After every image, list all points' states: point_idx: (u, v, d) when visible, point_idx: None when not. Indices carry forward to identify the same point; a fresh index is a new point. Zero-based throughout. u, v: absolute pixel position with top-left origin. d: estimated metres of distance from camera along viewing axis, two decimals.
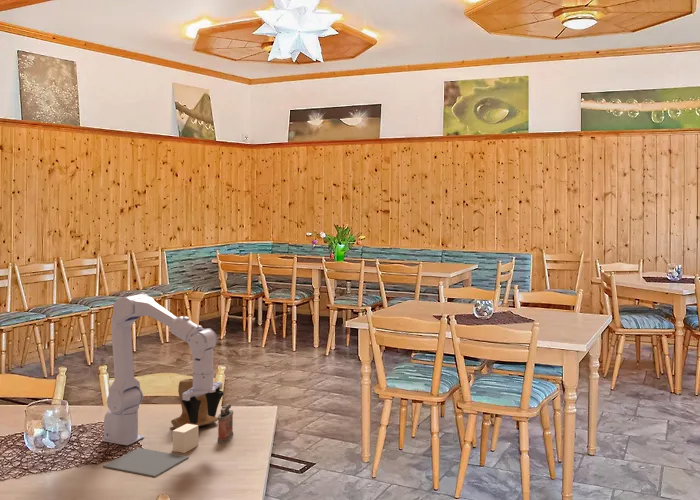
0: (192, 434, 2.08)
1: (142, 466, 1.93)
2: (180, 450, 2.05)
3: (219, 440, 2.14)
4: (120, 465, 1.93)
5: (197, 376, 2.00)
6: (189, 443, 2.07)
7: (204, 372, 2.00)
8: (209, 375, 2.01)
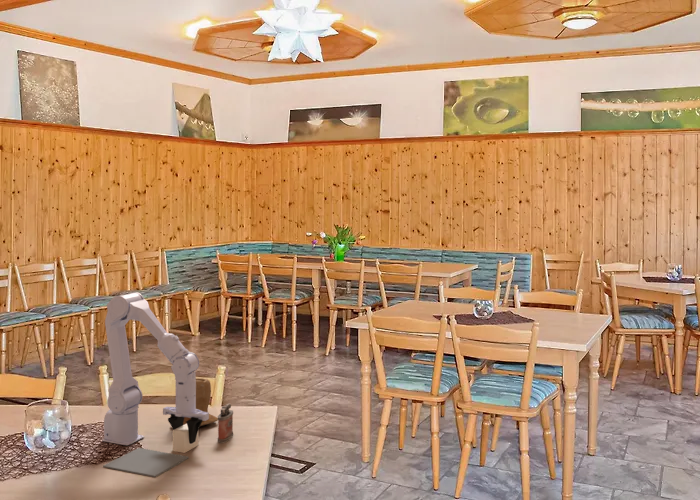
0: None
1: (142, 466, 1.93)
2: (180, 450, 2.05)
3: (219, 440, 2.14)
4: (120, 465, 1.93)
5: None
6: (189, 443, 2.07)
7: (187, 395, 2.05)
8: (178, 399, 2.05)
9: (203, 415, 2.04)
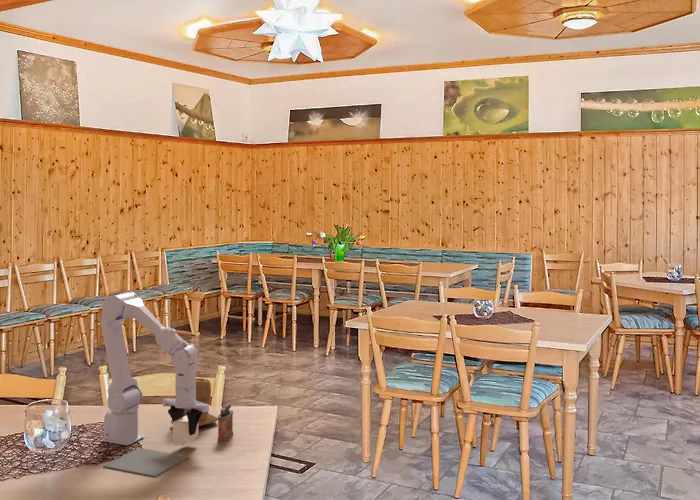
0: None
1: (142, 466, 1.93)
2: (180, 441, 2.05)
3: (219, 440, 2.14)
4: (120, 465, 1.93)
5: None
6: None
7: (187, 387, 2.04)
8: (178, 390, 2.05)
9: (203, 406, 2.04)
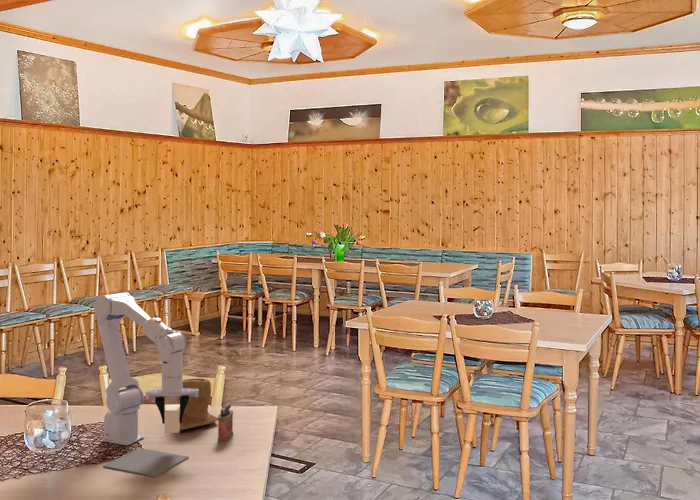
0: None
1: (142, 466, 1.93)
2: (174, 430, 2.00)
3: (219, 440, 2.14)
4: (120, 465, 1.93)
5: None
6: (179, 422, 2.03)
7: (171, 375, 2.00)
8: (170, 379, 2.00)
9: (196, 391, 2.03)
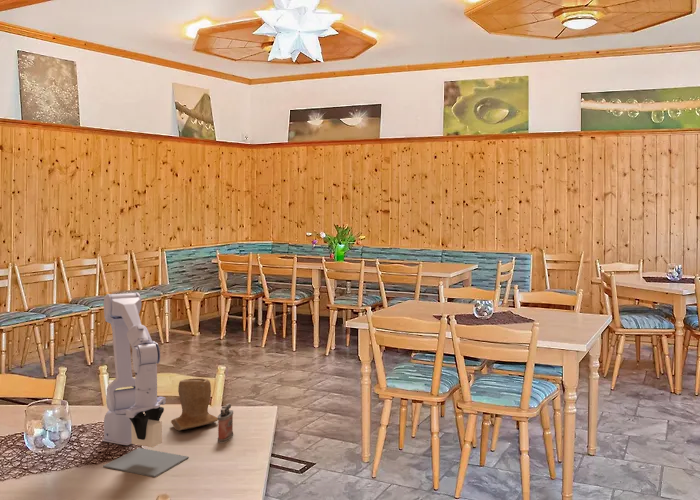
0: None
1: (142, 466, 1.93)
2: (158, 442, 1.95)
3: (219, 440, 2.14)
4: (120, 465, 1.93)
5: (141, 392, 1.92)
6: None
7: (140, 387, 1.92)
8: (153, 390, 1.94)
9: (164, 398, 2.01)
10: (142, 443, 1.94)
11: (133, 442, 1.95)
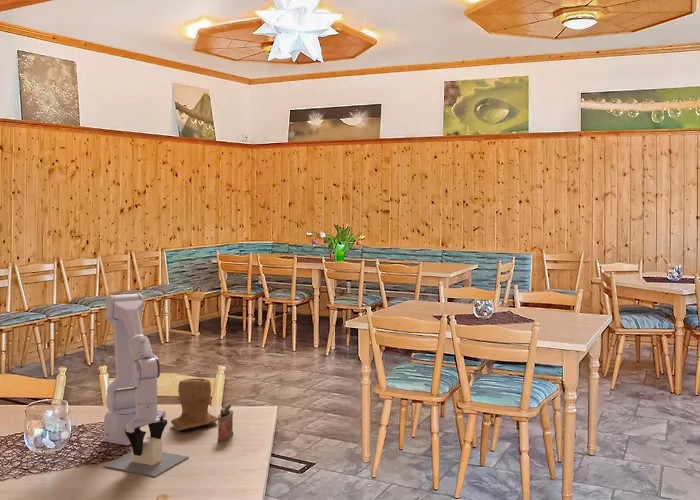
0: None
1: (142, 466, 1.93)
2: (158, 460, 1.96)
3: (219, 440, 2.14)
4: (120, 465, 1.93)
5: (141, 406, 1.93)
6: None
7: (140, 402, 1.93)
8: (153, 404, 1.94)
9: (164, 412, 2.02)
10: (142, 461, 1.95)
11: (133, 460, 1.96)
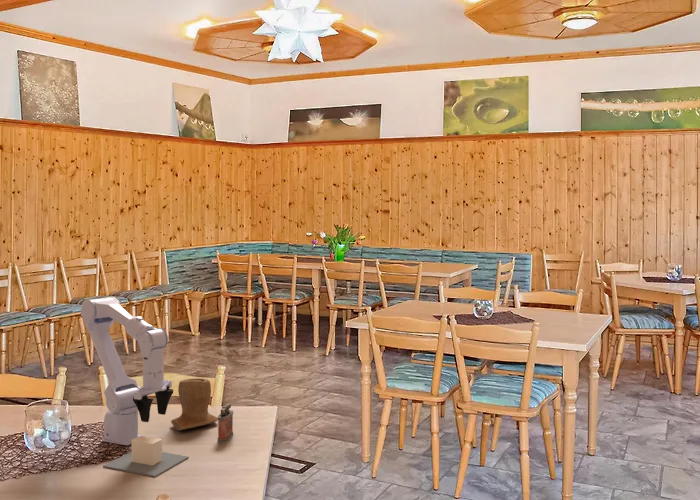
0: None
1: (142, 466, 1.93)
2: (158, 460, 1.96)
3: (219, 440, 2.14)
4: (120, 465, 1.93)
5: (148, 375, 2.02)
6: None
7: (151, 371, 2.02)
8: (160, 374, 2.03)
9: (170, 382, 2.11)
10: (142, 461, 1.95)
11: (133, 460, 1.96)
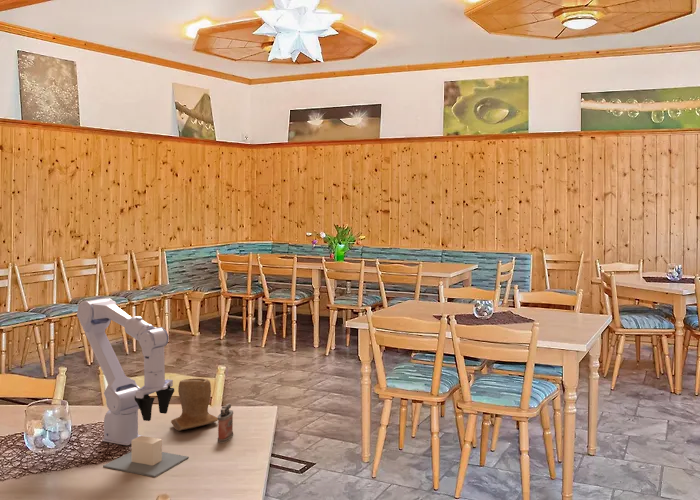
0: None
1: (142, 466, 1.93)
2: (158, 460, 1.96)
3: (219, 440, 2.14)
4: (120, 465, 1.93)
5: (149, 374, 2.03)
6: None
7: (153, 370, 2.03)
8: (161, 372, 2.04)
9: (171, 381, 2.12)
10: (142, 461, 1.95)
11: (133, 460, 1.96)
